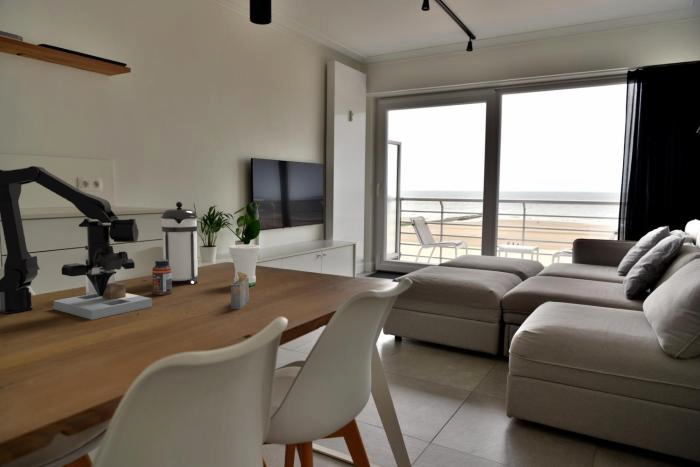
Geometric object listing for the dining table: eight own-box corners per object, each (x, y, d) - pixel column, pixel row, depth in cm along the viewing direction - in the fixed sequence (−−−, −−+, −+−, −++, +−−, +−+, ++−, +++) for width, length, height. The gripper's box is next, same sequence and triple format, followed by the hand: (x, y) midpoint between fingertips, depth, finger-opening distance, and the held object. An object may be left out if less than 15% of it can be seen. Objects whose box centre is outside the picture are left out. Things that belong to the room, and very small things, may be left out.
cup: (226, 283, 183) (226, 245, 182) (256, 281, 188) (256, 244, 186) (233, 288, 173) (232, 248, 172) (264, 286, 178) (264, 247, 176)
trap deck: (92, 319, 131) (91, 310, 131) (53, 309, 142) (53, 300, 142) (152, 306, 146) (151, 298, 146) (113, 297, 157) (113, 290, 157)
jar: (81, 298, 156) (79, 260, 155) (91, 292, 164) (89, 257, 163) (111, 297, 157) (109, 260, 156) (119, 292, 165) (118, 256, 164)
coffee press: (212, 280, 187) (211, 201, 185) (177, 287, 174) (175, 202, 171) (181, 276, 196) (180, 200, 194) (146, 282, 183) (144, 201, 180)
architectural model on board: (239, 301, 156) (238, 271, 155) (248, 301, 156) (248, 271, 155) (229, 310, 144) (229, 277, 143) (239, 310, 144) (239, 277, 143)
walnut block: (110, 299, 143) (110, 286, 143) (102, 297, 146) (101, 284, 145) (125, 297, 147) (125, 283, 147) (116, 295, 149) (116, 282, 149)
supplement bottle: (148, 294, 163) (147, 260, 162) (163, 291, 168) (162, 258, 167) (161, 296, 160) (160, 261, 159) (175, 293, 165) (175, 259, 164)
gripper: (80, 247, 129) (83, 306, 131) (144, 241, 145) (146, 294, 146) (59, 244, 135) (61, 300, 137) (123, 239, 151) (124, 289, 152)
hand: (100, 296), depth 143 cm, fingers closed
